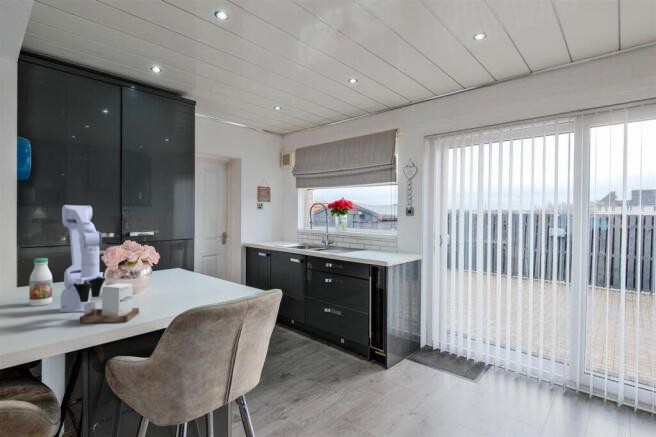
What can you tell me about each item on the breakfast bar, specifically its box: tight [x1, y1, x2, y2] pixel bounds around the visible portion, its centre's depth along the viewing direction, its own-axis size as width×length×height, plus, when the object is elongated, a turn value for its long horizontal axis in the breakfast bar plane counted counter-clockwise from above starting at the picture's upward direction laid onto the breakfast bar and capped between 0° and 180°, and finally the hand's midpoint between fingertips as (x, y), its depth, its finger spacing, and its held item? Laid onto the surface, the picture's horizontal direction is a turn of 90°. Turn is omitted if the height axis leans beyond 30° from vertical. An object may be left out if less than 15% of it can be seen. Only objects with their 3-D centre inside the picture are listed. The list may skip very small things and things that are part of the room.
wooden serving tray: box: [78, 301, 140, 324], centre depth 131 cm, size 17×11×6 cm, turn 98°
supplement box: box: [101, 282, 134, 316], centre depth 131 cm, size 7×7×13 cm
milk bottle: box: [28, 257, 53, 307], centre depth 149 cm, size 8×8×20 cm
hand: (90, 299), depth 130 cm, fingers open, 7 cm apart
